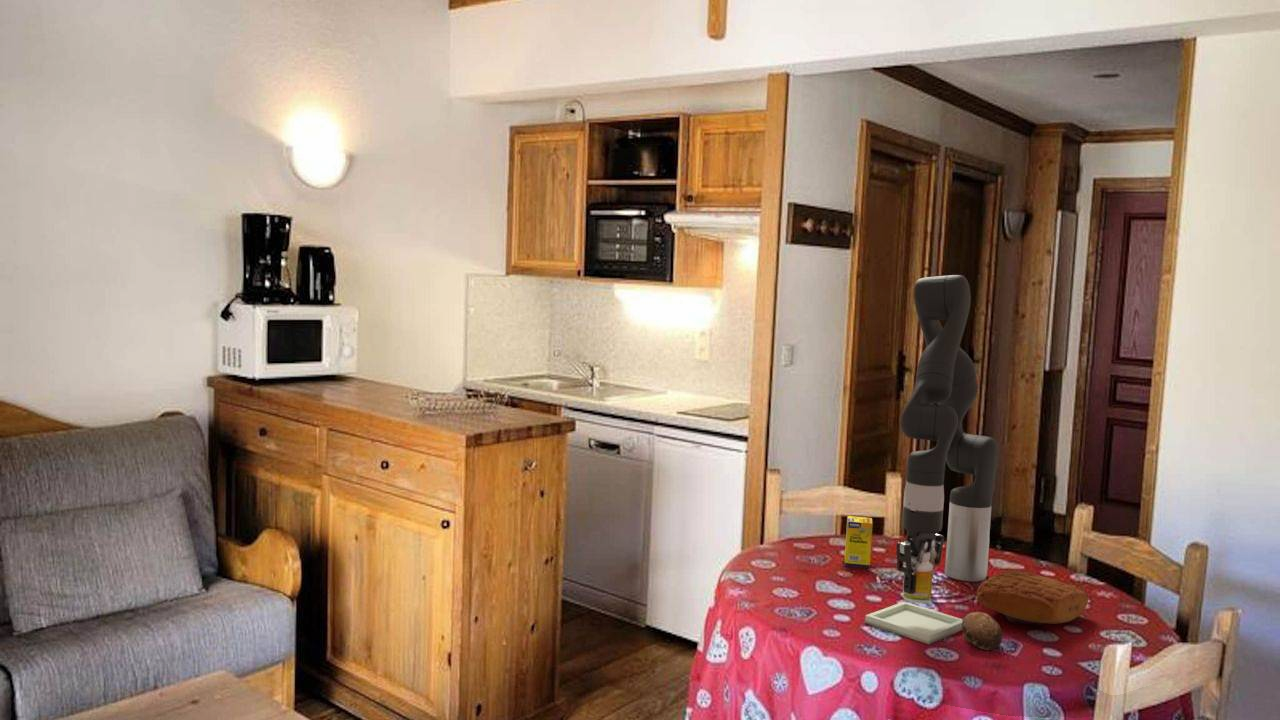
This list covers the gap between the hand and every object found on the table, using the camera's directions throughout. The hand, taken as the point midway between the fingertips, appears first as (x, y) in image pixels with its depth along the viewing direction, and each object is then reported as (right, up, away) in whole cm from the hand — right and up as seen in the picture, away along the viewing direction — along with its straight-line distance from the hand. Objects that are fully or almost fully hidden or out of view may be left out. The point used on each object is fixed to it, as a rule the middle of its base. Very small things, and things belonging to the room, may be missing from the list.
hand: (917, 589), depth 193 cm
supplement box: (-3, -4, +42) cm, 42 cm away
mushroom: (+9, -9, -9) cm, 15 cm away
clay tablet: (+26, -8, +8) cm, 28 cm away
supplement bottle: (0, -2, 0) cm, 2 cm away
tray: (0, -7, 0) cm, 7 cm away
